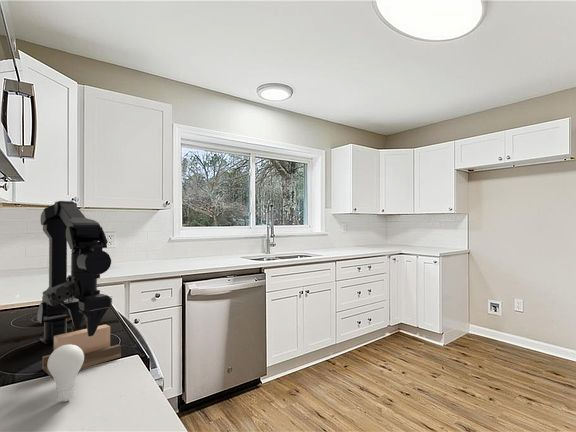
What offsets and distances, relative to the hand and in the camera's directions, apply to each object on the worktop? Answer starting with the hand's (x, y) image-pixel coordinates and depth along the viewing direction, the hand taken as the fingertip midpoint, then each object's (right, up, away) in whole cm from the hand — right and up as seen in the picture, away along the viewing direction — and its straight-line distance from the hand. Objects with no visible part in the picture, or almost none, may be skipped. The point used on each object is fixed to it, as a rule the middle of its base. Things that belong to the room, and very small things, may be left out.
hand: (83, 332), depth 85 cm
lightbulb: (+8, -7, -19) cm, 22 cm away
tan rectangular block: (0, -7, 0) cm, 7 cm away
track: (0, -8, 0) cm, 8 cm away
